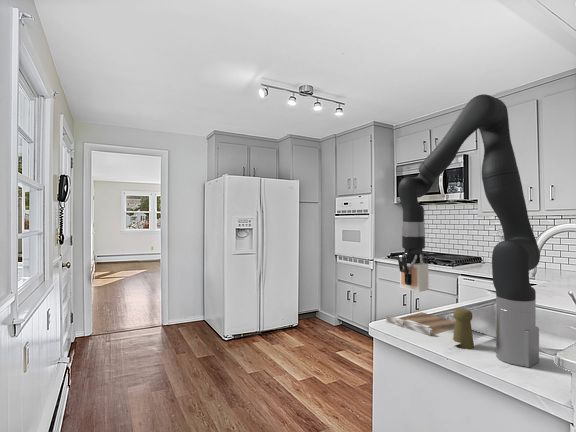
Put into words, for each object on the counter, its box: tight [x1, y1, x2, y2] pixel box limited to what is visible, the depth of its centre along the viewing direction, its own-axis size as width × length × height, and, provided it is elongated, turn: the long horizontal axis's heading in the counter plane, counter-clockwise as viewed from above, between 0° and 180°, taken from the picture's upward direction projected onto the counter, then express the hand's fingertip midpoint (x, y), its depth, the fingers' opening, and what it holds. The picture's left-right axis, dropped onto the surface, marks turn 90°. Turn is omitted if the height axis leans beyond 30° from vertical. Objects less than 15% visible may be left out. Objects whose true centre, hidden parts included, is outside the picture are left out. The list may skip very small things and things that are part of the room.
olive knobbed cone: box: [452, 308, 475, 350], centre depth 109 cm, size 6×6×11 cm
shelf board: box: [385, 311, 456, 337], centre depth 126 cm, size 18×20×4 cm
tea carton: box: [399, 262, 429, 293], centre depth 124 cm, size 8×5×9 cm, turn 33°
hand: (413, 283), depth 124 cm, fingers closed on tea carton, 5 cm apart
